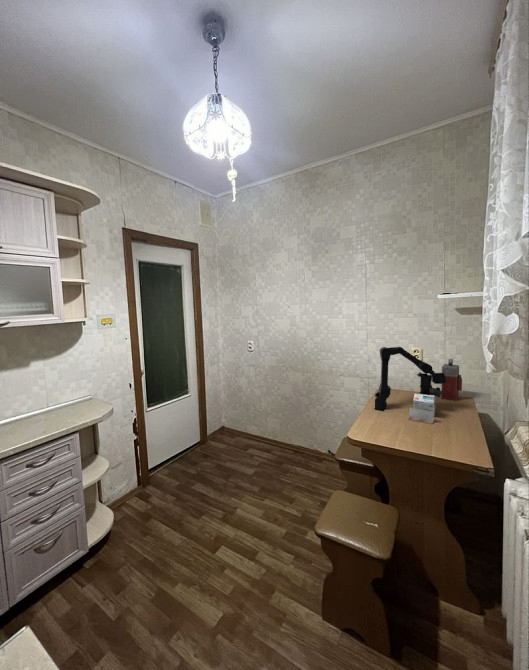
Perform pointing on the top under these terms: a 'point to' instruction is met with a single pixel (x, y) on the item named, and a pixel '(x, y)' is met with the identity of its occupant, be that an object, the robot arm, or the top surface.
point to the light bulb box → (424, 402)
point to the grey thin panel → (421, 414)
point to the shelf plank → (421, 420)
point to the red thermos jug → (451, 381)
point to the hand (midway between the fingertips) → (425, 408)
